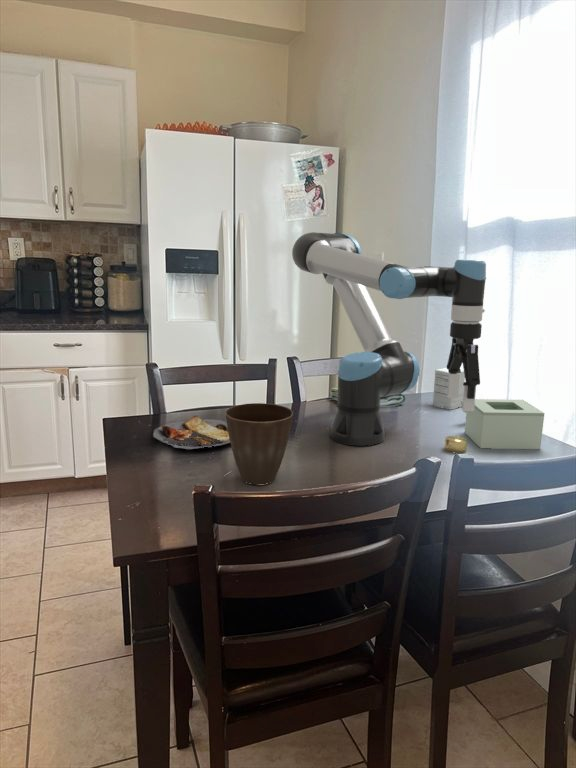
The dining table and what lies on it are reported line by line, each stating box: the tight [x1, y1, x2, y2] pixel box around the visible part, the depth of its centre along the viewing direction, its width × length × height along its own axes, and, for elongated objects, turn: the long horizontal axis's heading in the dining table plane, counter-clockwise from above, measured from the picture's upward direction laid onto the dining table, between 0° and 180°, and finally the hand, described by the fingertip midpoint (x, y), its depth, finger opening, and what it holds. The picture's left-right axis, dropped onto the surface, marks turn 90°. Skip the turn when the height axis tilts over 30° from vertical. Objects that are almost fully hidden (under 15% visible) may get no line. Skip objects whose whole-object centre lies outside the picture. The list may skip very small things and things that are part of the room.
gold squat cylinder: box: [444, 435, 468, 454], centre depth 152 cm, size 6×6×3 cm
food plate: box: [152, 415, 231, 450], centre depth 158 cm, size 25×23×4 cm
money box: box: [464, 398, 545, 450], centre depth 159 cm, size 16×14×10 cm
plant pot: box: [224, 402, 294, 484], centre depth 128 cm, size 15×15×16 cm
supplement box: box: [432, 367, 466, 411], centre depth 193 cm, size 7×7×13 cm
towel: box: [329, 386, 407, 409], centre depth 199 cm, size 18×21×5 cm
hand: (460, 403), depth 149 cm, fingers open, 13 cm apart
